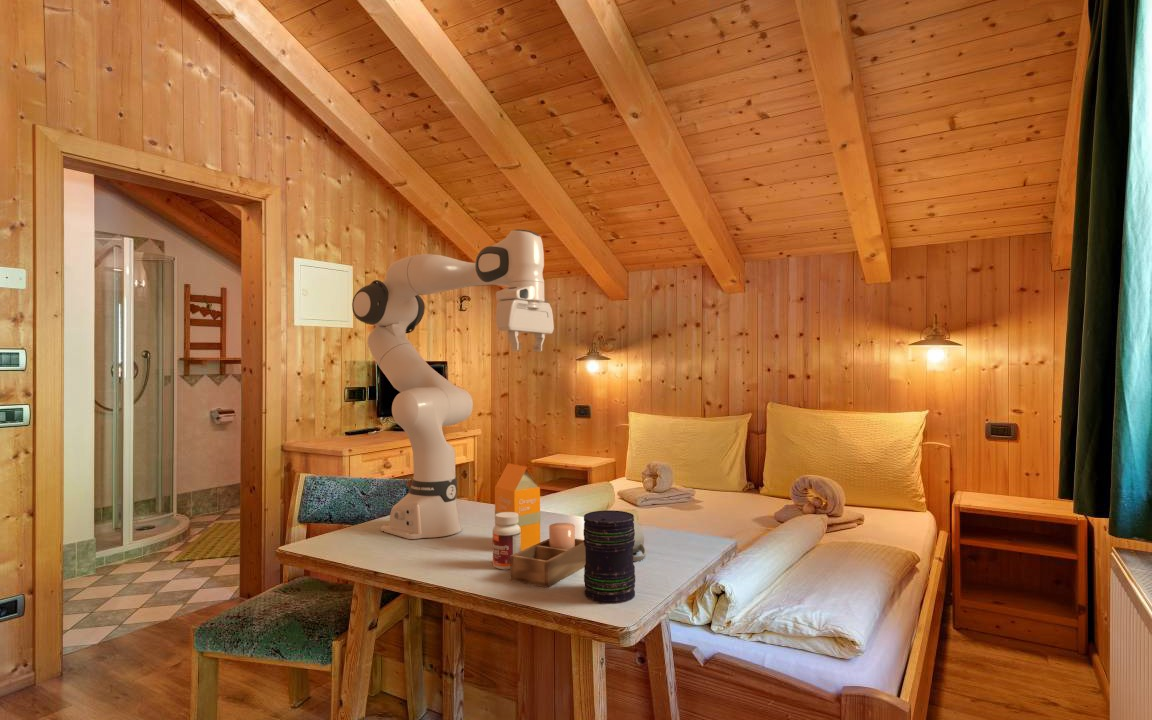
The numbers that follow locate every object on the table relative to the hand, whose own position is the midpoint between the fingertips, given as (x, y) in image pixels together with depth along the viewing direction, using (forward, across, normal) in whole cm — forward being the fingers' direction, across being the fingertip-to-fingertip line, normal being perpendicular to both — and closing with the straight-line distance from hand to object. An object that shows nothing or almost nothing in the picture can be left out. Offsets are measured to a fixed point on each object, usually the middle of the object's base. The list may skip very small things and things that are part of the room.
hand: (527, 351), depth 153 cm
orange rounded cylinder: (+47, +10, +15) cm, 50 cm away
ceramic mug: (+48, -4, +24) cm, 54 cm away
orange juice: (+48, +1, -3) cm, 48 cm away
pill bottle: (+48, +15, +4) cm, 51 cm away
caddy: (+48, +14, +15) cm, 52 cm away
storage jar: (+48, +20, +32) cm, 61 cm away
